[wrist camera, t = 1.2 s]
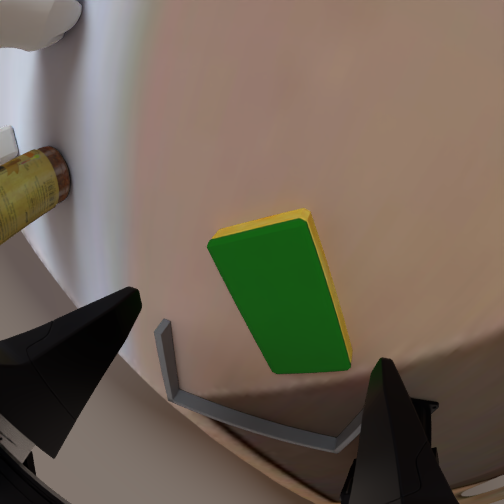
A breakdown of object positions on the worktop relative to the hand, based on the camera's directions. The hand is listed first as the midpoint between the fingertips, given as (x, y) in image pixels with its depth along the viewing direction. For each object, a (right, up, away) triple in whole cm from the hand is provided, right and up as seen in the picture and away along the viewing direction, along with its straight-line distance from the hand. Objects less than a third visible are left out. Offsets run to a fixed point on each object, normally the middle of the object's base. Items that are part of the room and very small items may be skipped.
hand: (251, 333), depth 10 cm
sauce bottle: (-19, +11, +15) cm, 27 cm away
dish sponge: (+3, -1, +14) cm, 14 cm away
